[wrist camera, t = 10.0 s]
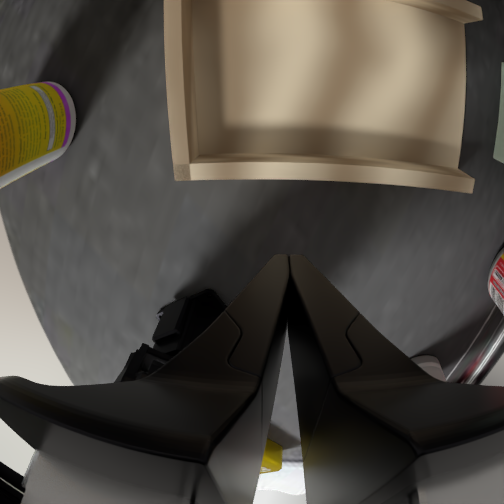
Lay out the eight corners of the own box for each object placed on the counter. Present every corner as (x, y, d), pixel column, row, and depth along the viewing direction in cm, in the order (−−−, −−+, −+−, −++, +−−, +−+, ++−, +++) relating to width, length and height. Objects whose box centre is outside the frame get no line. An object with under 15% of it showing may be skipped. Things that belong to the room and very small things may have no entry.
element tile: (157, 426, 41) (150, 450, 37) (227, 410, 36) (222, 442, 32) (218, 459, 47) (215, 480, 43) (287, 447, 41) (286, 472, 37)
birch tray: (188, 167, 20) (174, 181, 17) (179, -13, 13) (164, -26, 11) (451, 179, 18) (472, 193, 16) (458, 12, 12) (481, 7, 9)
